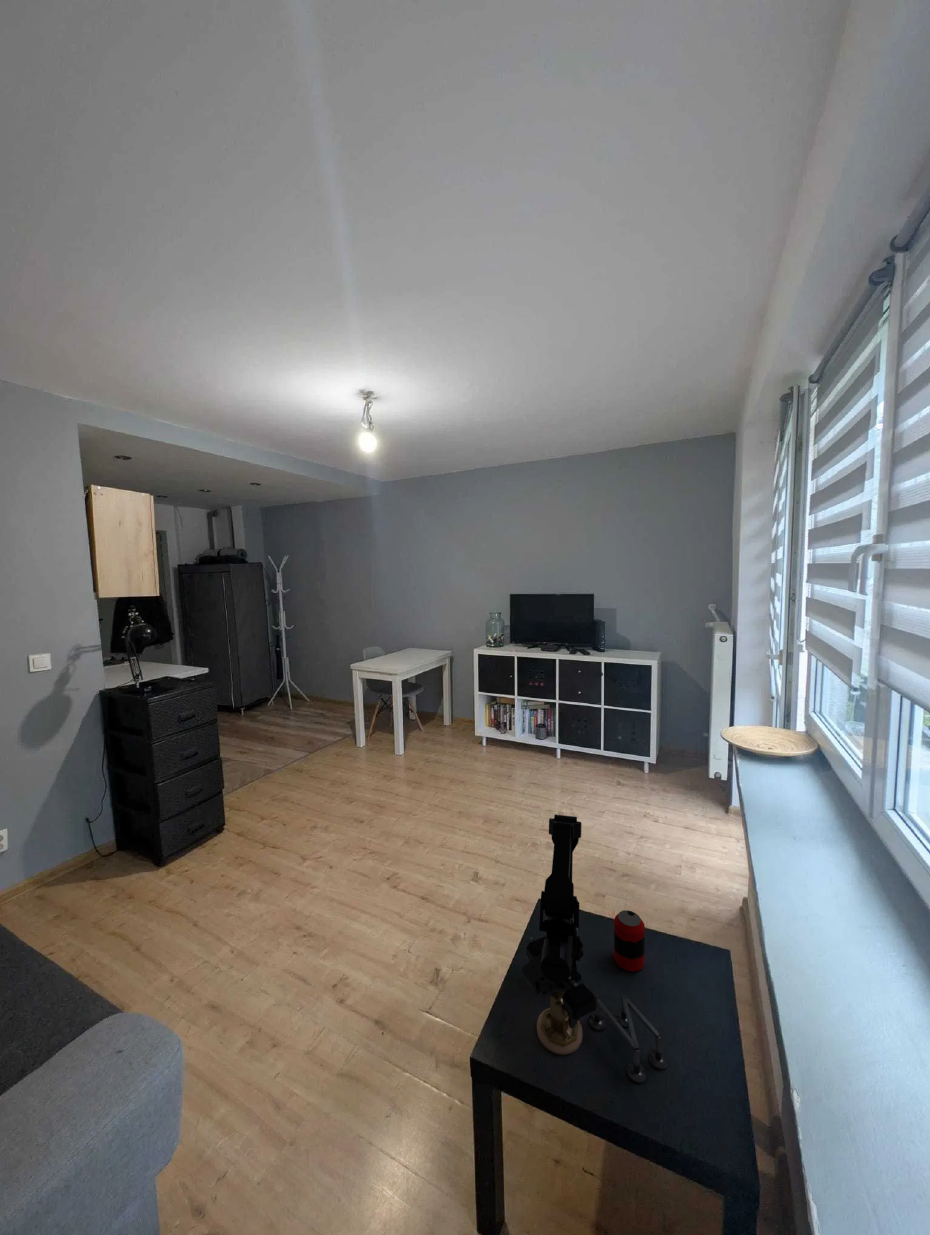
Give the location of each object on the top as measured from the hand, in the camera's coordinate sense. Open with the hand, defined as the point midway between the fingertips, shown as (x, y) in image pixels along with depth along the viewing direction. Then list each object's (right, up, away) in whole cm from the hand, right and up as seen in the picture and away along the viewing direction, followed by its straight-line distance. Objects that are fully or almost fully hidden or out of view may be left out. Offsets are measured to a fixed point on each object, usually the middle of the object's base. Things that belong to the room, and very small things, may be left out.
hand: (559, 1009), depth 103 cm
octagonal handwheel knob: (0, -5, +1) cm, 5 cm away
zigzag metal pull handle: (+14, -5, -2) cm, 15 cm away
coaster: (0, -6, +1) cm, 6 cm away
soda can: (+22, -4, +19) cm, 30 cm away
